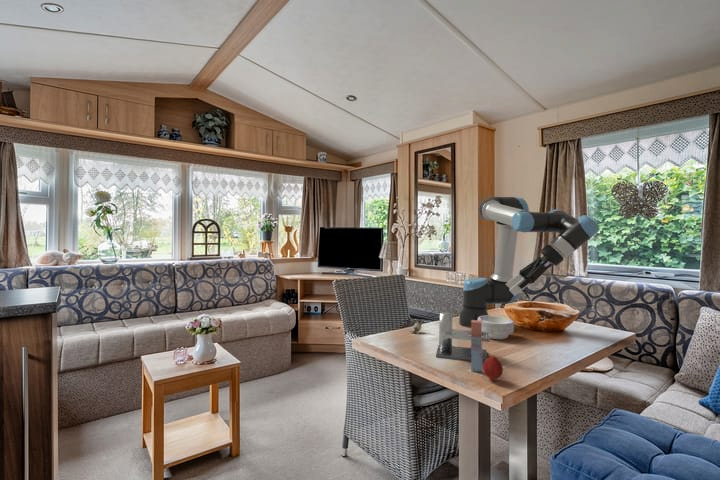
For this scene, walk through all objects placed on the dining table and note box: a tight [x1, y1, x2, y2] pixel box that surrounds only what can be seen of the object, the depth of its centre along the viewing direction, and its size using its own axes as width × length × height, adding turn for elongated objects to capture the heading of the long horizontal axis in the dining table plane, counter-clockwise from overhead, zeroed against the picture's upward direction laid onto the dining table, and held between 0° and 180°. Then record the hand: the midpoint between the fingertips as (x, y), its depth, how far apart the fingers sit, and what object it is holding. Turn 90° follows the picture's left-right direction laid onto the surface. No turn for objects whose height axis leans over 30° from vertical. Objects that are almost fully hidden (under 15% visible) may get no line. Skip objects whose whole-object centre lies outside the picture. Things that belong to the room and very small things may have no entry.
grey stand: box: [435, 311, 491, 373], centre depth 128 cm, size 18×22×15 cm
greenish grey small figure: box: [410, 319, 423, 335], centre depth 163 cm, size 5×5×6 cm
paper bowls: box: [478, 314, 515, 340], centre depth 158 cm, size 15×15×8 cm
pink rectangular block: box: [470, 320, 482, 337], centre depth 131 cm, size 4×4×12 cm
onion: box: [482, 354, 504, 381], centre depth 110 cm, size 6×6×8 cm
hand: (509, 289), depth 132 cm, fingers open, 13 cm apart
